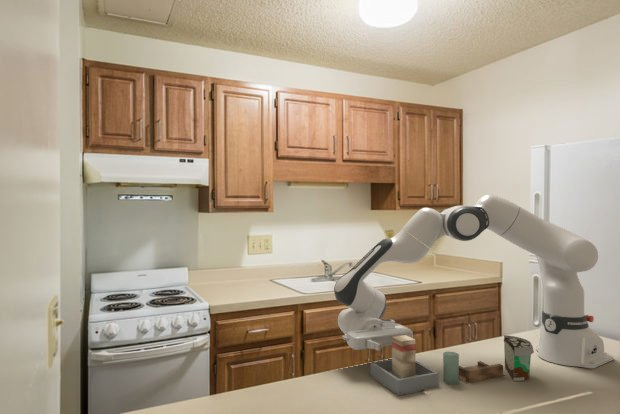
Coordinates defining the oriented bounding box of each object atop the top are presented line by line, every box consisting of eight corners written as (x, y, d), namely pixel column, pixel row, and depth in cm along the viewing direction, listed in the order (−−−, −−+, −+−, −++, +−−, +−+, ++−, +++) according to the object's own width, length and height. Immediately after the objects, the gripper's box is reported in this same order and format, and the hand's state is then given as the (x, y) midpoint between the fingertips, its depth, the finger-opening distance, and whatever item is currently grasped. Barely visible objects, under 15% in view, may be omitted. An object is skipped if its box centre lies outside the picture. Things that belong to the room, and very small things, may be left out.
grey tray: (408, 369, 125) (408, 356, 125) (438, 387, 112) (438, 373, 112) (370, 375, 120) (370, 362, 120) (398, 395, 107) (398, 380, 107)
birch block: (405, 374, 119) (405, 334, 119) (415, 380, 115) (415, 339, 115) (391, 376, 117) (391, 336, 117) (401, 383, 113) (401, 341, 113)
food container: (540, 387, 112) (540, 349, 112) (515, 385, 113) (515, 348, 114) (526, 370, 124) (526, 335, 124) (503, 368, 126) (503, 334, 126)
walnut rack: (481, 366, 127) (481, 354, 127) (506, 377, 119) (506, 364, 119) (443, 373, 122) (443, 360, 122) (466, 385, 113) (466, 372, 113)
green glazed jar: (451, 379, 117) (451, 350, 117) (462, 385, 114) (462, 355, 114) (440, 382, 116) (440, 352, 116) (450, 387, 112) (450, 357, 112)
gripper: (339, 325, 128) (362, 338, 115) (396, 319, 136) (424, 330, 123) (339, 346, 128) (362, 361, 115) (396, 338, 136) (424, 352, 123)
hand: (394, 345), depth 119 cm, fingers open, 8 cm apart
